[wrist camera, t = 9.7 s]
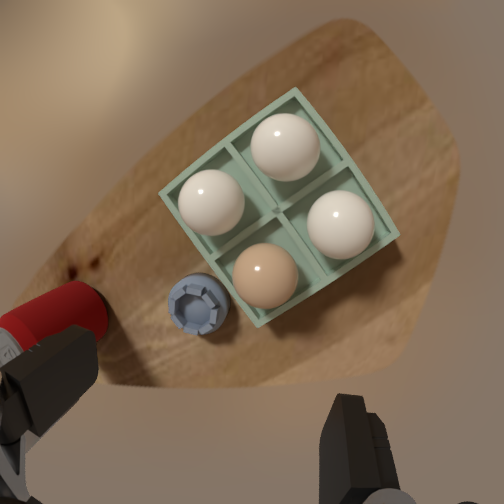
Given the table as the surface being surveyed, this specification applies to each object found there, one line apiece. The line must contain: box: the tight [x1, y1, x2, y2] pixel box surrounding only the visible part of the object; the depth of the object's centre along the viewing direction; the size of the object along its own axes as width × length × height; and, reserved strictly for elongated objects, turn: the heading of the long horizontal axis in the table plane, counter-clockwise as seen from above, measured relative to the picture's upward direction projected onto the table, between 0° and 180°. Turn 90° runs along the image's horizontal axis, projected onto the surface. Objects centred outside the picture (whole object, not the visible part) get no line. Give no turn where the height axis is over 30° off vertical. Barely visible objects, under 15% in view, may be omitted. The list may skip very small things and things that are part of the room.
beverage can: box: [0, 281, 108, 367], centre depth 23 cm, size 7×7×12 cm
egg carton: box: [158, 87, 400, 328], centre depth 22 cm, size 12×12×3 cm
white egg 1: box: [178, 169, 245, 236], centre depth 20 cm, size 4×4×4 cm
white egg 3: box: [307, 190, 375, 259], centre depth 19 cm, size 4×4×4 cm
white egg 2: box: [250, 113, 320, 182], centre depth 19 cm, size 4×4×4 cm
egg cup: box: [168, 273, 230, 335], centre depth 25 cm, size 5×5×3 cm
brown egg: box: [232, 243, 298, 309], centre depth 21 cm, size 4×4×4 cm
